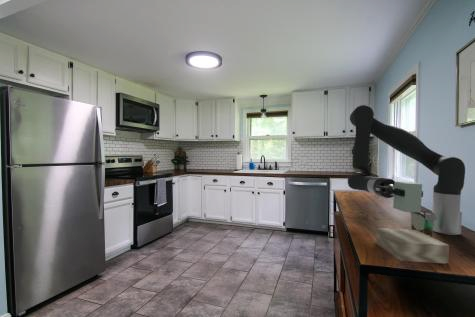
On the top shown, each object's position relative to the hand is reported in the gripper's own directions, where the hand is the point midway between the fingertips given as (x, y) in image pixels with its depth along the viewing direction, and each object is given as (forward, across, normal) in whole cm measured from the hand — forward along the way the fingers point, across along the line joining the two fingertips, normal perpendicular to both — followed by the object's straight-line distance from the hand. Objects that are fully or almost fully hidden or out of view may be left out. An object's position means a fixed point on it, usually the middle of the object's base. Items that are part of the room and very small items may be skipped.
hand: (412, 193), depth 82 cm
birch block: (0, 0, +20) cm, 20 cm away
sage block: (-3, 0, +6) cm, 7 cm away
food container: (-19, +21, +20) cm, 34 cm away
